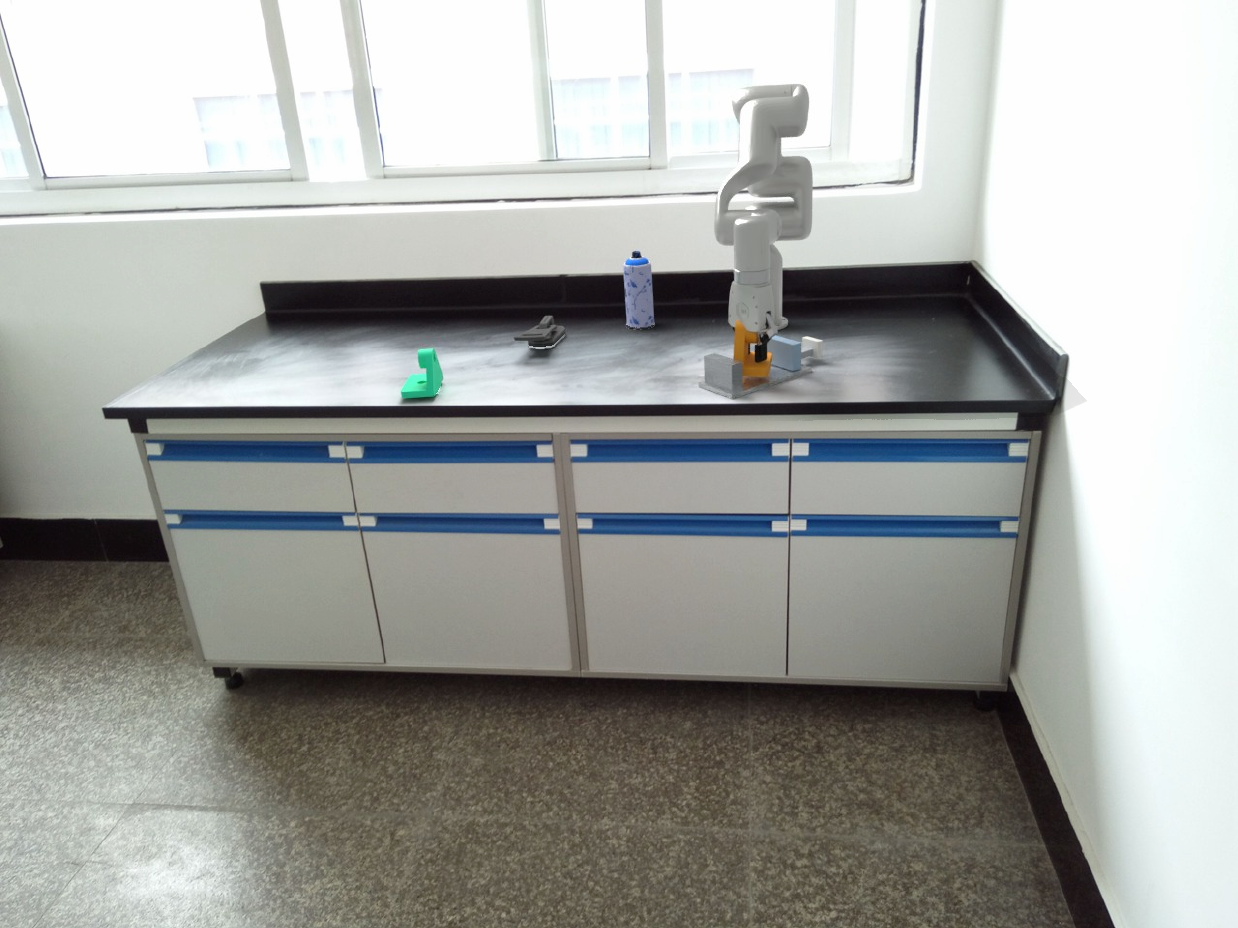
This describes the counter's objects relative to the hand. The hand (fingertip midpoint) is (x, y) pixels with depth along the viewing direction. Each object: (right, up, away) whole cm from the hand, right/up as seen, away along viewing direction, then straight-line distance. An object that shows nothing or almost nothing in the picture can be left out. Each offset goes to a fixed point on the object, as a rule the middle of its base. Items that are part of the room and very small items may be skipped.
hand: (752, 357), depth 200 cm
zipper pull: (-49, +7, +35) cm, 61 cm away
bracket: (0, -3, +1) cm, 3 cm away
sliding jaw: (+11, 0, +8) cm, 14 cm away
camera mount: (-75, -7, +9) cm, 75 cm away
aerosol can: (-23, +14, +47) cm, 55 cm away
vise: (+1, -5, +2) cm, 5 cm away
